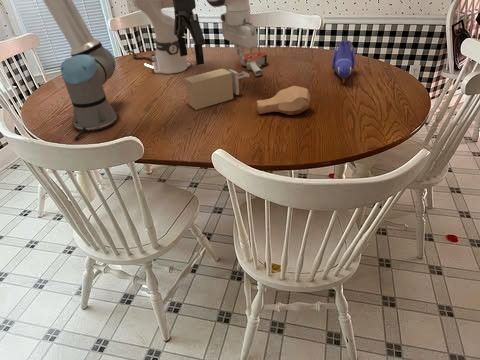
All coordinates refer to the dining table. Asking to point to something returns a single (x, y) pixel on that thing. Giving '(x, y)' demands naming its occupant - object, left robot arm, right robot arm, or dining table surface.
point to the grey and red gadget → (254, 62)
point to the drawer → (235, 80)
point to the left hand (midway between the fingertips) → (191, 59)
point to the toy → (343, 59)
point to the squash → (286, 101)
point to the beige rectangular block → (209, 88)
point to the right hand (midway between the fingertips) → (240, 55)
